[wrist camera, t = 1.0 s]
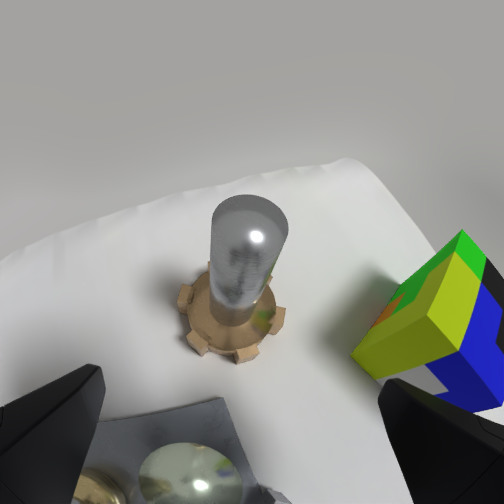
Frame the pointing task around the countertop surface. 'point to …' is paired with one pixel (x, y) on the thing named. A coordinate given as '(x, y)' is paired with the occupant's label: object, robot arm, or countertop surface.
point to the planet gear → (237, 280)
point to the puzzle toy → (444, 330)
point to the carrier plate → (170, 461)
